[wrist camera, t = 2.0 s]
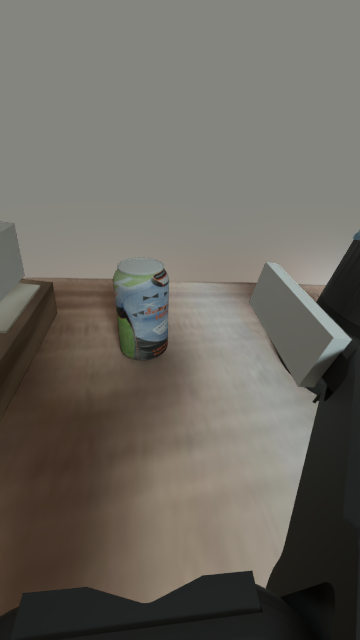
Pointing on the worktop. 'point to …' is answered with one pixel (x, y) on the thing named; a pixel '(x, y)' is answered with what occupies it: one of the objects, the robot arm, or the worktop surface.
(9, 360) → the riser
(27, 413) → the worktop surface
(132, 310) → the beverage can
